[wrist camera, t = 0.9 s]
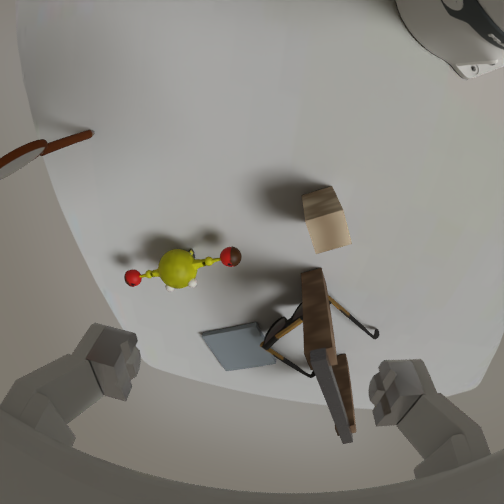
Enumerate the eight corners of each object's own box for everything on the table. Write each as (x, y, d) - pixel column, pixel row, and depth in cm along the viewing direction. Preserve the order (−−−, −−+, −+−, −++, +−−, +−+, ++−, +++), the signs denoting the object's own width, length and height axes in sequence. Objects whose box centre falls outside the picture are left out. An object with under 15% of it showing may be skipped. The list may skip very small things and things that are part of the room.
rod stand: (321, 267, 41) (332, 347, 28) (347, 363, 51) (356, 432, 38) (300, 273, 42) (304, 353, 29) (332, 366, 51) (337, 435, 39)
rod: (325, 347, 28) (326, 359, 27) (352, 433, 38) (352, 442, 37) (310, 350, 29) (310, 362, 27) (342, 435, 38) (342, 443, 37)
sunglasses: (317, 368, 52) (318, 389, 47) (257, 328, 48) (253, 350, 44) (378, 329, 46) (384, 351, 41) (321, 278, 42) (324, 300, 37)
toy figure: (145, 279, 46) (128, 306, 40) (130, 250, 43) (110, 274, 37) (251, 257, 41) (245, 286, 36) (239, 222, 39) (230, 247, 33)
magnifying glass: (75, 149, 36) (-30, 200, 18) (71, 139, 35) (-35, 186, 18) (118, 126, 34) (4, 167, 16) (114, 114, 33) (-2, 149, 16)
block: (332, 186, 35) (343, 209, 28) (340, 214, 37) (351, 243, 30) (301, 195, 36) (305, 221, 29) (311, 223, 38) (315, 254, 31)
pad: (256, 322, 47) (255, 326, 47) (275, 359, 52) (275, 363, 51) (203, 332, 50) (201, 336, 49) (226, 367, 54) (226, 371, 54)
